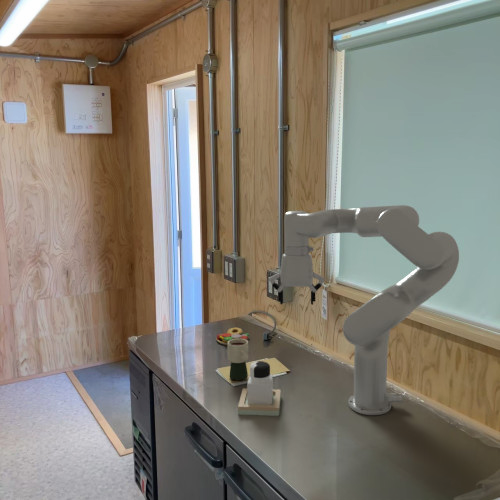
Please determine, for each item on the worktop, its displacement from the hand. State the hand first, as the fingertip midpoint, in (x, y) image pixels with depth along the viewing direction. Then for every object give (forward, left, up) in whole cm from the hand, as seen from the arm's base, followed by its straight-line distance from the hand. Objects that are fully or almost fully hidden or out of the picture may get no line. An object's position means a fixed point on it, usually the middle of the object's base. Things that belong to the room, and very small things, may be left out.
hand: (296, 303), depth 168 cm
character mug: (+20, -5, -28) cm, 35 cm away
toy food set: (+27, -41, -29) cm, 57 cm away
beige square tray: (+11, +14, -28) cm, 33 cm away
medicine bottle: (+11, +14, -27) cm, 32 cm away
